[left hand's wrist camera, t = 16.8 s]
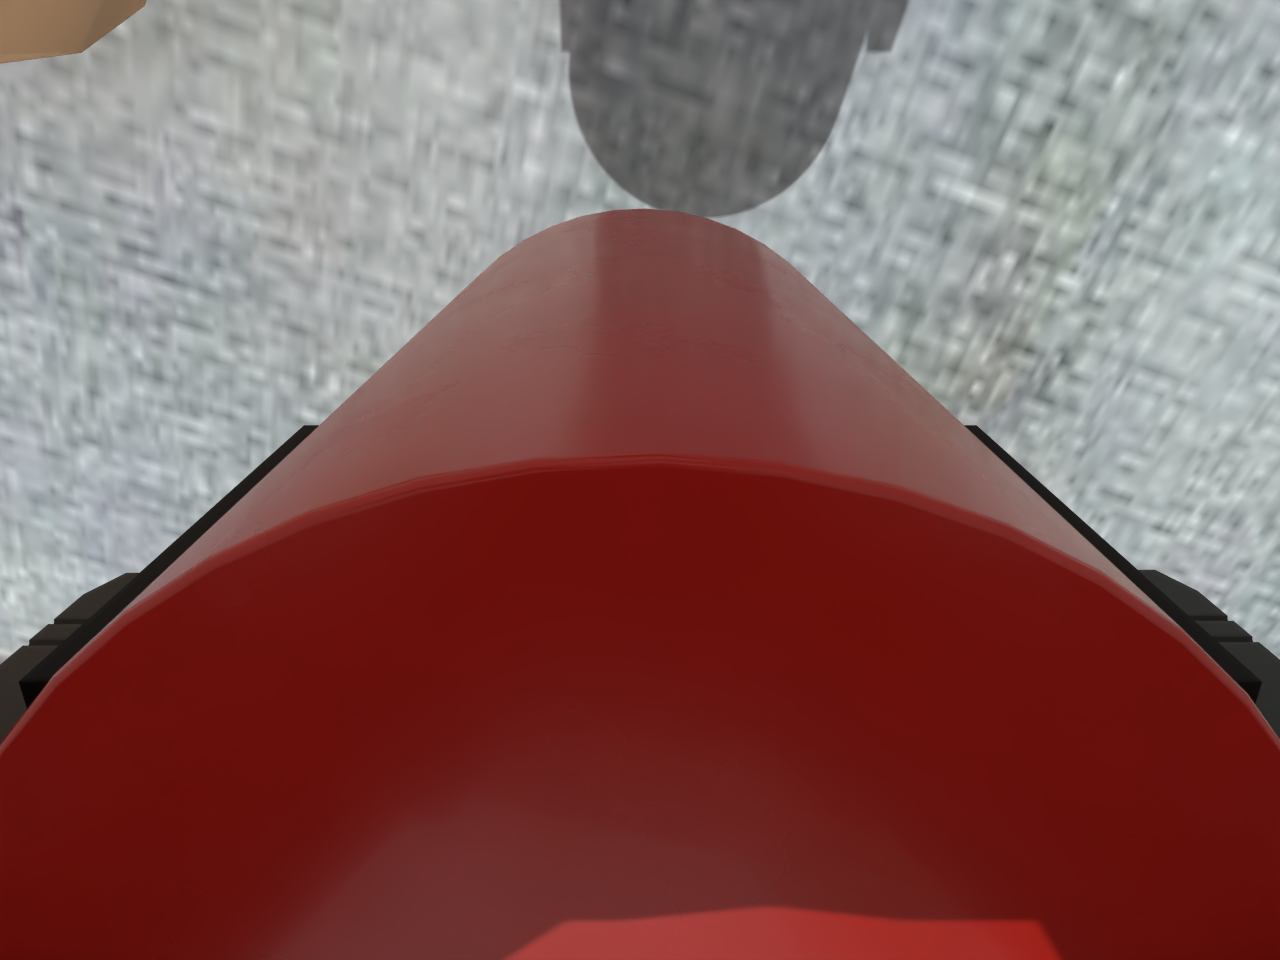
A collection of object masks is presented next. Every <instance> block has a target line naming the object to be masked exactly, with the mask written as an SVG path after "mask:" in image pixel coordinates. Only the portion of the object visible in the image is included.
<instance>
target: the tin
mask: <svg viewBox="0 0 1280 960" xmlns="http://www.w3.org/2000/svg"><path fill="white" fill-rule="evenodd" d="M0 960H1280V739H1279V737H1278V736H1277V735H1276V733H1275V732H1274V730H1273V729H1272V728H1271V726H1270V725H1269V723H1268V722H1267V720H1266V719H1265V718H1264V716H1263V715H1262V713H1261V712H1260V710H1259V709H1258V708H1257V706H1256V705H1255V703H1254V702H1253V701H1252V699H1251V698H1250V696H1249V695H1248V693H1247V692H1246V691H1245V690H1244V689H1243V688H1242V687H1241V686H1240V685H1239V684H1238V683H1237V682H1236V681H1234V680H1233V679H1232V678H1231V677H1230V676H1229V675H1228V674H1227V673H1226V672H1225V671H1224V670H1223V669H1222V668H1221V667H1220V666H1219V665H1218V664H1217V663H1216V662H1215V661H1214V660H1213V659H1212V658H1211V657H1210V656H1209V655H1208V654H1207V653H1206V652H1205V651H1204V650H1203V649H1202V648H1201V647H1200V646H1199V645H1198V644H1197V643H1196V642H1195V641H1194V640H1193V639H1192V638H1191V637H1190V636H1189V635H1188V634H1187V633H1186V632H1185V631H1184V630H1183V629H1182V628H1181V627H1180V626H1179V625H1178V624H1177V623H1176V622H1175V621H1174V620H1172V619H1171V618H1170V617H1169V616H1168V615H1167V614H1166V613H1165V612H1164V611H1163V610H1162V609H1161V608H1160V607H1158V606H1157V605H1156V604H1155V603H1154V602H1153V601H1152V600H1151V599H1150V598H1149V597H1148V596H1147V595H1146V594H1145V593H1143V592H1142V591H1141V590H1140V589H1139V588H1138V587H1137V586H1136V585H1135V584H1134V583H1133V582H1132V581H1131V580H1129V579H1128V578H1127V577H1126V576H1125V575H1124V574H1123V573H1122V572H1121V571H1120V570H1119V569H1118V568H1117V567H1115V566H1114V565H1113V564H1112V563H1111V562H1110V561H1109V560H1108V559H1107V558H1106V557H1105V556H1104V555H1103V554H1102V553H1100V552H1099V551H1098V550H1097V549H1096V548H1095V547H1094V546H1093V545H1092V544H1091V543H1090V542H1089V541H1088V540H1086V539H1085V538H1084V537H1083V536H1082V535H1081V534H1080V533H1079V532H1078V531H1077V530H1076V529H1075V528H1074V527H1072V526H1071V525H1070V524H1069V523H1068V522H1067V521H1066V520H1065V519H1064V518H1063V517H1062V516H1061V515H1060V514H1059V513H1057V512H1056V511H1055V510H1054V509H1053V508H1052V507H1051V506H1050V505H1049V504H1048V503H1047V502H1046V501H1045V500H1043V499H1042V498H1041V497H1040V496H1039V495H1038V494H1037V493H1036V492H1035V491H1034V490H1033V489H1032V488H1031V487H1029V486H1028V485H1027V484H1026V483H1025V482H1024V481H1023V480H1022V479H1021V478H1020V477H1019V476H1018V475H1017V474H1016V473H1014V472H1013V471H1012V470H1011V469H1010V468H1009V467H1008V466H1007V465H1006V464H1005V463H1004V462H1003V461H1002V460H1000V459H999V458H998V457H997V456H996V455H995V454H994V453H993V452H992V451H991V450H990V449H989V448H988V447H986V446H985V445H984V444H983V443H982V442H981V441H980V440H979V439H978V438H977V437H976V436H975V435H974V434H973V433H971V432H970V431H969V430H968V429H967V428H966V427H965V426H964V425H963V424H962V423H961V422H960V421H959V420H957V419H956V418H955V417H954V416H953V415H952V414H951V413H950V412H949V411H948V410H947V409H946V408H945V407H944V406H942V405H941V404H940V403H939V402H938V401H937V400H936V399H935V398H934V397H933V396H932V395H931V394H930V393H928V392H927V391H926V390H925V389H924V388H923V387H922V386H921V385H920V384H919V383H918V382H917V381H916V380H914V379H913V378H912V377H911V376H910V375H909V374H908V373H907V372H906V371H905V370H904V369H903V368H902V367H901V366H899V365H898V364H897V363H896V362H895V361H894V360H893V359H892V358H891V357H890V356H889V355H888V354H887V353H885V352H884V351H883V350H882V349H881V348H880V347H879V346H878V345H877V344H876V343H875V342H874V341H873V340H871V339H870V338H869V337H868V336H867V335H866V334H865V333H864V332H863V331H862V330H861V329H860V328H859V327H858V326H856V325H855V324H854V323H853V322H852V321H851V320H850V319H849V318H848V317H847V316H846V315H845V314H844V313H842V312H841V311H840V310H839V309H838V308H837V307H836V306H835V305H834V304H833V303H832V302H831V301H830V300H828V299H827V298H826V297H825V296H824V295H823V294H822V293H821V292H820V291H819V290H818V289H817V288H816V287H815V286H813V285H812V284H811V283H810V282H809V281H808V280H807V279H806V278H805V277H804V276H803V275H802V274H801V273H799V272H798V271H797V270H796V269H795V268H794V267H793V266H792V265H791V264H790V263H789V262H787V261H786V260H785V259H783V258H782V257H781V256H779V255H778V254H777V253H775V252H774V251H773V250H771V249H770V248H768V247H767V246H766V245H764V244H763V243H761V242H759V241H757V240H755V239H753V238H752V237H750V236H748V235H746V234H744V233H742V232H741V231H739V230H737V229H734V228H732V227H729V226H726V225H724V224H721V223H718V222H716V221H713V220H710V219H708V218H704V217H699V216H695V215H690V214H686V213H682V212H677V211H666V210H655V209H628V210H612V211H607V212H601V213H596V214H591V215H585V216H581V217H578V218H575V219H572V220H569V221H566V222H563V223H560V224H557V225H554V226H552V227H550V228H548V229H546V230H544V231H542V232H539V233H537V234H535V235H533V236H531V237H529V238H527V239H525V240H524V241H522V242H521V243H519V244H518V245H516V246H515V247H513V248H512V249H511V250H509V251H508V252H506V253H505V254H503V255H502V256H500V257H499V258H498V259H497V260H496V261H495V262H493V263H492V264H491V265H490V266H489V267H488V268H487V269H486V270H485V271H484V272H482V273H481V274H480V275H479V276H478V277H477V278H476V279H475V280H474V281H473V282H472V283H471V284H469V285H468V286H467V287H466V288H465V289H464V290H463V291H462V292H461V293H460V294H459V295H458V296H457V297H456V298H455V299H453V300H452V301H451V302H450V303H449V304H448V305H447V306H446V307H445V308H444V309H443V310H442V311H441V312H440V313H439V314H438V315H436V316H435V317H434V318H433V319H432V320H431V321H430V322H429V323H428V324H427V325H426V326H425V327H424V328H423V329H422V330H420V331H419V332H418V333H417V334H416V335H415V336H414V337H413V338H412V339H411V340H410V341H409V342H408V343H407V344H406V345H404V346H403V347H402V348H401V349H400V350H399V351H398V352H397V353H396V354H395V355H394V356H393V357H392V358H391V359H390V360H389V361H387V362H386V363H385V364H384V365H383V366H382V367H381V368H380V369H379V370H378V371H377V372H376V373H375V374H374V375H373V376H371V377H370V378H369V379H368V380H367V381H366V382H365V383H364V384H363V385H362V386H361V387H360V388H359V389H358V390H357V391H356V392H354V393H353V394H352V395H351V396H350V397H349V398H348V399H347V400H346V401H345V402H344V403H343V404H342V405H341V406H340V407H338V408H337V409H336V410H335V411H334V412H333V413H332V414H331V415H330V416H329V417H328V418H327V419H326V420H325V421H324V422H322V423H321V424H320V425H319V426H318V427H317V428H316V429H315V430H314V431H313V432H312V433H311V434H310V435H309V436H308V437H307V438H305V439H304V440H303V441H302V442H301V443H300V444H299V445H298V446H297V447H296V448H295V449H294V450H293V451H292V452H291V453H289V454H288V455H287V456H286V457H285V458H284V459H283V460H282V461H281V462H280V463H279V464H278V465H277V466H276V467H275V468H274V469H272V470H271V471H270V472H269V473H268V474H267V475H266V476H265V477H264V478H263V479H262V480H261V481H260V482H259V483H258V484H256V485H255V486H254V487H253V488H252V489H251V490H250V491H249V492H248V493H247V494H246V495H245V496H244V497H243V498H242V499H240V500H239V501H238V502H237V503H236V504H235V505H234V506H233V507H232V508H231V509H230V510H229V511H228V512H227V513H226V514H225V515H223V516H222V517H221V518H220V519H219V520H218V521H217V522H216V523H215V524H214V525H213V526H212V527H211V528H210V529H209V530H207V531H206V532H205V533H204V534H203V535H202V536H201V537H200V538H199V539H198V540H197V541H196V542H195V543H194V544H193V545H192V546H190V547H189V548H188V549H187V550H186V551H185V552H184V553H183V554H182V555H181V556H180V557H179V558H178V559H177V560H176V561H174V562H173V563H172V564H171V565H170V566H169V567H168V568H167V569H166V570H165V571H164V572H163V573H162V574H161V575H160V576H159V577H157V578H156V579H155V580H154V581H153V582H152V583H151V584H150V585H149V586H148V587H147V588H146V589H145V590H144V591H143V592H141V593H140V594H139V595H138V596H137V597H136V598H135V599H134V600H133V601H132V602H131V603H130V604H129V605H128V606H127V607H125V608H124V609H123V610H122V611H121V612H120V613H119V614H118V615H117V616H116V617H115V618H114V619H113V620H112V621H111V622H110V623H108V624H107V625H106V626H105V627H104V628H103V629H102V630H101V631H100V632H99V633H98V634H97V635H96V636H95V637H94V638H92V639H91V640H90V641H89V642H88V643H87V644H86V645H85V646H84V647H83V648H82V649H81V650H80V651H79V652H78V653H77V654H75V655H74V656H73V657H72V658H71V659H70V660H69V661H68V662H67V663H66V664H65V665H64V666H63V667H62V668H61V669H59V670H58V671H57V672H56V673H55V674H54V675H53V677H52V678H51V679H50V680H49V682H48V683H47V684H46V686H45V687H44V688H43V689H42V691H41V692H40V693H39V694H38V696H37V697H36V698H35V700H34V701H33V702H32V703H31V705H30V706H29V707H28V708H27V710H26V711H25V712H24V714H23V715H22V716H21V717H20V719H19V720H18V721H17V722H16V724H15V725H14V726H13V727H12V729H11V730H10V731H9V733H8V734H7V735H6V736H5V738H4V739H3V740H2V741H1V743H0Z"/></svg>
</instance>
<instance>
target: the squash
mask: <svg viewBox="0 0 1280 960" xmlns="http://www.w3.org/2000/svg"><path fill="white" fill-rule="evenodd" d="M145 3H146V0H0V64H1V63H8V62H16V61H23V60H31V59H38V58H46V57H53V56H61V55H68V54H76V53H82V52H83V51H84V50H86V49H87V48H88V47H90V46H91V45H92V44H94V43H95V42H96V41H98V40H99V39H101V38H102V37H103V36H105V35H106V34H107V33H109V32H110V31H111V30H113V29H114V28H115V27H117V26H118V25H119V24H121V23H122V22H124V21H125V20H126V19H128V18H129V17H130V16H132V15H133V14H134V13H136V12H137V11H138V10H140V9H141V8H142V7H144V5H145Z"/></svg>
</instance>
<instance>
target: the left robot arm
mask: <svg viewBox="0 0 1280 960" xmlns="http://www.w3.org/2000/svg"><path fill="white" fill-rule="evenodd" d="M318 426H319V425H304V426H303V427H302V428H301V429H300V430H298V431H297V432H296V433H295V434H294V435H293V436H292V437H291V438H290V439H288V440H287V441H286V442H285V443H284V444H283V445H282V446H281V447H279V448H278V449H277V450H276V451H275V452H274V453H273V454H272V455H271V456H269V457H268V458H267V459H266V460H265V461H264V462H263V463H262V464H261V465H259V466H258V467H257V468H256V469H255V470H254V471H253V472H252V473H250V474H249V475H248V476H247V477H246V478H245V479H244V480H243V481H242V482H240V483H239V484H238V485H237V486H236V487H235V488H234V489H233V490H232V491H230V492H229V493H228V494H227V495H226V496H225V497H224V498H223V499H221V500H220V501H219V502H218V503H217V504H216V505H215V506H214V507H213V508H211V509H210V510H209V511H208V512H207V513H206V514H205V515H204V516H203V517H201V518H200V519H199V520H198V521H197V522H196V523H195V524H194V525H193V526H191V527H190V528H189V529H188V530H187V531H186V532H185V533H184V534H182V535H181V536H180V537H179V538H178V539H177V540H176V541H175V542H174V543H172V544H171V545H170V546H169V547H168V548H167V549H166V550H165V551H164V552H162V553H161V554H160V555H159V556H158V557H157V558H156V559H155V560H153V561H152V562H151V563H150V564H149V565H148V566H147V567H146V568H145V569H143V570H142V571H141V572H140V573H125V574H123V575H121V576H119V577H117V578H115V579H113V580H111V581H109V582H107V583H105V584H103V585H101V586H99V587H97V588H95V589H93V590H91V591H89V592H87V593H85V594H83V595H82V596H81V597H80V598H79V599H78V600H76V601H75V602H74V603H73V604H72V605H70V606H69V607H68V608H67V609H66V610H65V611H63V612H62V613H61V614H60V615H59V616H57V617H56V618H55V619H54V624H48V625H47V626H46V627H44V628H43V629H42V630H41V631H40V632H38V633H37V634H36V635H35V636H34V637H33V638H31V639H30V640H29V642H30V643H29V646H22V647H21V648H20V649H18V650H17V651H16V652H15V653H14V654H12V655H11V656H10V657H9V658H8V659H7V660H5V661H4V662H3V663H2V664H1V665H0V743H1V741H2V740H3V739H4V738H5V736H6V735H7V734H8V733H9V731H10V730H11V729H12V727H13V726H14V725H15V724H16V722H17V721H18V720H19V719H20V717H21V716H22V715H23V714H24V712H25V711H26V710H27V708H28V707H29V706H30V705H31V703H32V702H33V701H34V700H35V698H36V697H37V696H38V694H39V693H40V692H41V691H42V689H43V688H44V687H45V686H46V684H47V683H48V682H49V680H50V679H51V678H52V677H53V675H54V674H55V673H56V672H57V671H58V670H59V669H61V668H62V667H63V666H64V665H65V664H66V663H67V662H68V661H69V660H70V659H71V658H72V657H73V656H74V655H75V654H77V653H78V652H79V651H80V650H81V649H82V648H83V647H84V646H85V645H86V644H87V643H88V642H89V641H90V640H91V639H92V638H94V637H95V636H96V635H97V634H98V633H99V632H100V631H101V630H102V629H103V628H104V627H105V626H106V625H107V624H108V623H110V622H111V621H112V620H113V619H114V618H115V617H116V616H117V615H118V614H119V613H120V612H121V611H122V610H123V609H124V608H125V607H127V606H128V605H129V604H130V603H131V602H132V601H133V600H134V599H135V598H136V597H137V596H138V595H139V594H140V593H141V592H143V591H144V590H145V589H146V588H147V587H148V586H149V585H150V584H151V583H152V582H153V581H154V580H155V579H156V578H157V577H159V576H160V575H161V574H162V573H163V572H164V571H165V570H166V569H167V568H168V567H169V566H170V565H171V564H172V563H173V562H174V561H176V560H177V559H178V558H179V557H180V556H181V555H182V554H183V553H184V552H185V551H186V550H187V549H188V548H189V547H190V546H192V545H193V544H194V543H195V542H196V541H197V540H198V539H199V538H200V537H201V536H202V535H203V534H204V533H205V532H206V531H207V530H209V529H210V528H211V527H212V526H213V525H214V524H215V523H216V522H217V521H218V520H219V519H220V518H221V517H222V516H223V515H225V514H226V513H227V512H228V511H229V510H230V509H231V508H232V507H233V506H234V505H235V504H236V503H237V502H238V501H239V500H240V499H242V498H243V497H244V496H245V495H246V494H247V493H248V492H249V491H250V490H251V489H252V488H253V487H254V486H255V485H256V484H258V483H259V482H260V481H261V480H262V479H263V478H264V477H265V476H266V475H267V474H268V473H269V472H270V471H271V470H272V469H274V468H275V467H276V466H277V465H278V464H279V463H280V462H281V461H282V460H283V459H284V458H285V457H286V456H287V455H288V454H289V453H291V452H292V451H293V450H294V449H295V448H296V447H297V446H298V445H299V444H300V443H301V442H302V441H303V440H304V439H305V438H307V437H308V436H309V435H310V434H311V433H312V432H313V431H314V430H315V429H316V428H317V427H318ZM964 426H965V427H966V428H967V429H968V430H969V431H970V432H971V433H973V434H974V435H975V436H976V437H977V438H978V439H979V440H980V441H981V442H982V443H983V444H984V445H985V446H986V447H988V448H989V449H990V450H991V451H992V452H993V453H994V454H995V455H996V456H997V457H998V458H999V459H1000V460H1002V461H1003V462H1004V463H1005V464H1006V465H1007V466H1008V467H1009V468H1010V469H1011V470H1012V471H1013V472H1014V473H1016V474H1017V475H1018V476H1019V477H1020V478H1021V479H1022V480H1023V481H1024V482H1025V483H1026V484H1027V485H1028V486H1029V487H1031V488H1032V489H1033V490H1034V491H1035V492H1036V493H1037V494H1038V495H1039V496H1040V497H1041V498H1042V499H1043V500H1045V501H1046V502H1047V503H1048V504H1049V505H1050V506H1051V507H1052V508H1053V509H1054V510H1055V511H1056V512H1057V513H1059V514H1060V515H1061V516H1062V517H1063V518H1064V519H1065V520H1066V521H1067V522H1068V523H1069V524H1070V525H1071V526H1072V527H1074V528H1075V529H1076V530H1077V531H1078V532H1079V533H1080V534H1081V535H1082V536H1083V537H1084V538H1085V539H1086V540H1088V541H1089V542H1090V543H1091V544H1092V545H1093V546H1094V547H1095V548H1096V549H1097V550H1098V551H1099V552H1100V553H1102V554H1103V555H1104V556H1105V557H1106V558H1107V559H1108V560H1109V561H1110V562H1111V563H1112V564H1113V565H1114V566H1115V567H1117V568H1118V569H1119V570H1120V571H1121V572H1122V573H1123V574H1124V575H1125V576H1126V577H1127V578H1128V579H1129V580H1131V581H1132V582H1133V583H1134V584H1135V585H1136V586H1137V587H1138V588H1139V589H1140V590H1141V591H1142V592H1143V593H1145V594H1146V595H1147V596H1148V597H1149V598H1150V599H1151V600H1152V601H1153V602H1154V603H1155V604H1156V605H1157V606H1158V607H1160V608H1161V609H1162V610H1163V611H1164V612H1165V613H1166V614H1167V615H1168V616H1169V617H1170V618H1171V619H1172V620H1174V621H1175V622H1176V623H1177V624H1178V625H1179V626H1180V627H1181V628H1182V629H1183V630H1184V631H1185V632H1186V633H1187V634H1188V635H1189V636H1190V637H1191V638H1192V639H1193V640H1194V641H1195V642H1196V643H1197V644H1198V645H1199V646H1200V647H1201V648H1202V649H1203V650H1204V651H1205V652H1206V653H1207V654H1208V655H1209V656H1210V657H1211V658H1212V659H1213V660H1214V661H1215V662H1216V663H1217V664H1218V665H1219V666H1220V667H1221V668H1222V669H1223V670H1224V671H1225V672H1226V673H1227V674H1228V675H1229V676H1230V677H1231V678H1232V679H1233V680H1234V681H1236V682H1237V683H1238V684H1239V685H1240V686H1241V687H1242V688H1243V689H1244V690H1245V691H1246V692H1247V693H1248V695H1249V696H1250V698H1251V699H1252V701H1253V702H1254V703H1255V705H1256V706H1257V708H1258V709H1259V710H1260V712H1261V713H1262V715H1263V716H1264V718H1265V719H1266V720H1267V722H1268V723H1269V725H1270V726H1271V728H1272V729H1273V730H1274V732H1275V733H1276V735H1277V736H1278V737H1279V739H1280V660H1279V659H1278V658H1277V657H1276V656H1275V655H1273V654H1272V653H1271V652H1270V651H1269V650H1268V649H1266V648H1265V647H1264V646H1263V645H1262V644H1260V643H1259V642H1253V640H1252V636H1251V635H1250V634H1248V633H1247V632H1246V631H1245V630H1244V629H1242V628H1241V627H1240V626H1239V625H1238V624H1236V623H1235V622H1234V621H1228V619H1227V617H1228V616H1227V615H1226V614H1225V613H1223V612H1222V611H1221V610H1220V609H1219V608H1217V607H1216V606H1215V605H1214V604H1213V603H1211V602H1210V601H1209V600H1208V599H1207V598H1205V597H1204V596H1203V595H1202V594H1201V593H1200V592H1198V591H1197V590H1195V589H1193V588H1191V587H1189V586H1187V585H1185V584H1182V583H1180V582H1178V581H1176V580H1174V579H1172V578H1170V577H1168V576H1166V575H1164V574H1162V573H1160V572H1158V571H1156V570H1137V569H1136V568H1135V567H1134V566H1133V565H1132V564H1131V563H1129V562H1128V561H1127V560H1126V559H1125V558H1124V557H1123V556H1122V555H1120V554H1119V553H1118V552H1117V551H1116V550H1115V549H1114V548H1113V547H1112V546H1110V545H1109V544H1108V543H1107V542H1106V541H1105V540H1104V539H1103V538H1102V537H1100V536H1099V535H1098V534H1097V533H1096V532H1095V531H1094V530H1093V529H1091V528H1090V527H1089V526H1088V525H1087V524H1086V523H1085V522H1084V521H1083V520H1081V519H1080V518H1079V517H1078V516H1077V515H1076V514H1075V513H1074V512H1073V511H1071V510H1070V509H1069V508H1068V507H1067V506H1066V505H1065V504H1064V503H1062V502H1061V501H1060V500H1059V499H1058V498H1057V497H1056V496H1055V495H1054V494H1052V493H1051V492H1050V491H1049V490H1048V489H1047V488H1046V487H1045V486H1044V485H1042V484H1041V483H1040V482H1039V481H1038V480H1037V479H1036V478H1035V477H1033V476H1032V475H1031V474H1030V473H1029V472H1028V471H1027V470H1026V469H1025V468H1023V467H1022V466H1021V465H1020V464H1019V463H1018V462H1017V461H1016V460H1015V459H1013V458H1012V457H1011V456H1010V455H1009V454H1008V453H1007V452H1006V451H1004V450H1003V449H1002V448H1001V447H1000V446H999V445H998V444H997V443H996V442H994V441H993V440H992V439H991V438H990V437H989V436H988V435H987V434H986V433H984V432H983V431H982V430H981V429H980V428H979V427H978V426H977V425H964Z"/></svg>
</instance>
